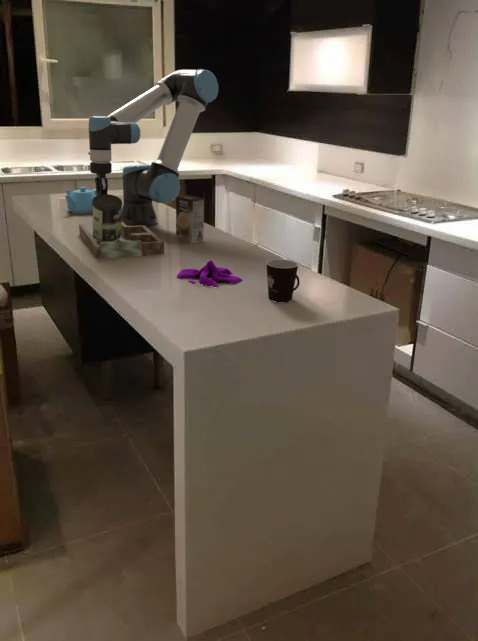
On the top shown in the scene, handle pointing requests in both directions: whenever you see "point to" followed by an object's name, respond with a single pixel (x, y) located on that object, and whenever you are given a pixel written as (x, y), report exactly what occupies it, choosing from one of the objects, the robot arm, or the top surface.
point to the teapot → (80, 200)
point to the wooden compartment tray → (125, 243)
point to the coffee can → (107, 218)
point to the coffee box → (189, 219)
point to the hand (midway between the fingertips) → (102, 227)
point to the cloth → (209, 275)
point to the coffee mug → (281, 279)
